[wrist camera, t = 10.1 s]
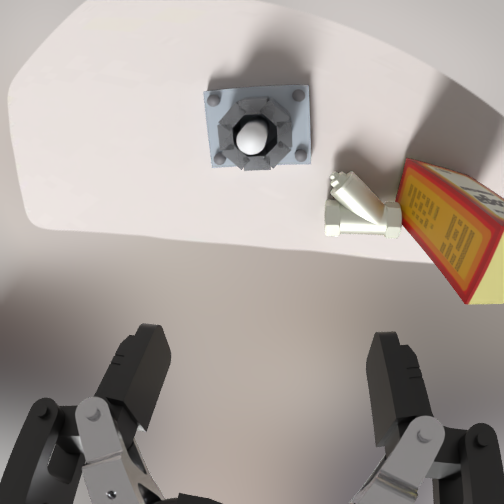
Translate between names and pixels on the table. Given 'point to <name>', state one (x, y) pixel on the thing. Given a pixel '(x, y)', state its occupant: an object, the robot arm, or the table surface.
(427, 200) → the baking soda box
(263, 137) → the mounting base with peg
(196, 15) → the table surface
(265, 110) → the hub
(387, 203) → the pipe fitting
